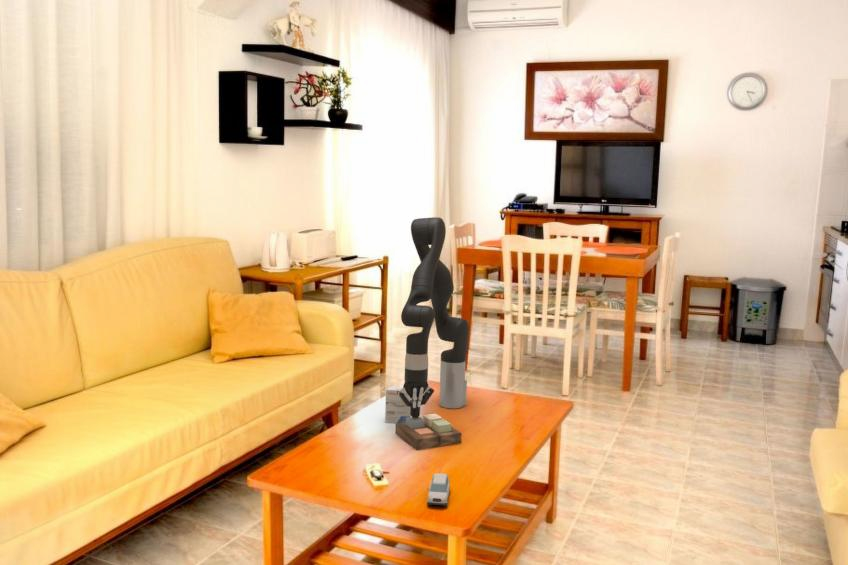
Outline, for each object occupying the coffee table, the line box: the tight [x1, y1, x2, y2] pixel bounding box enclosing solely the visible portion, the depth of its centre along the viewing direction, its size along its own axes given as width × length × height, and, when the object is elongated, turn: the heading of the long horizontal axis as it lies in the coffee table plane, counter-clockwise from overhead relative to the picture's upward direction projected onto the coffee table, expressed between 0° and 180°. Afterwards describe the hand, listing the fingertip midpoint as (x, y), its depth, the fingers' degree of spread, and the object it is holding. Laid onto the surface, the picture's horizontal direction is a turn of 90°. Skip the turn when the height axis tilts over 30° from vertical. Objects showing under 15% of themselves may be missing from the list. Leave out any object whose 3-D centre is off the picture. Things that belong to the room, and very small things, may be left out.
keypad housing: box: [394, 422, 463, 451], centre depth 246 cm, size 16×16×4 cm
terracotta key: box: [414, 428, 433, 436], centre depth 241 cm, size 5×5×2 cm
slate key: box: [406, 416, 425, 429], centre depth 247 cm, size 5×5×2 cm
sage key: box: [432, 419, 452, 433], centre depth 244 cm, size 5×5×2 cm
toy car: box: [426, 472, 451, 507], centre depth 201 cm, size 6×13×5 cm, turn 174°
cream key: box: [422, 413, 443, 427], centre depth 249 cm, size 5×5×2 cm
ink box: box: [384, 386, 412, 424], centre depth 261 cm, size 8×5×12 cm, turn 84°
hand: (414, 417), depth 246 cm, fingers closed
